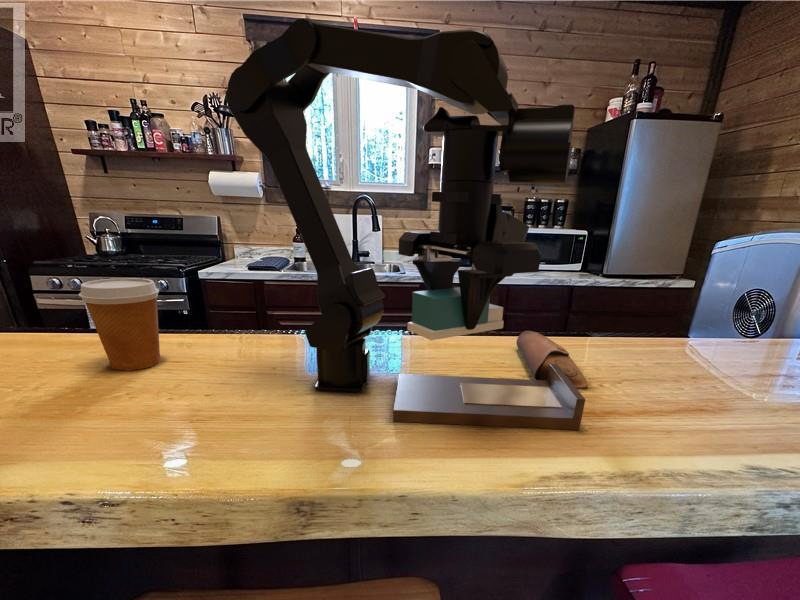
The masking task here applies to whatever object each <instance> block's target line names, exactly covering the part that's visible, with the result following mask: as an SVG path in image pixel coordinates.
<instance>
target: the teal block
mask: <svg viewBox="0 0 800 600" xmlns="http://www.w3.org/2000/svg"><path fill="white" fill-rule="evenodd" d="M411 297H412V302H411V304H412V305H411V321H409V322H407V326H406V327H407V331H408V332H411V333H413V334H415V335H418V336H419V337H422V338H424V339H426V340H429V341H436V340H442V339H449V338H453V337H460V336H466V335H473V334H477V333H478V334H479V333H483V332H489V331H496V330H500V329H503V328H504V323H505V322H504V320H503V315H504V306H500V305H496V304H493V303H490V300H491V296H490V297H489V299H488V301H487V303H486V305H485V308H484V310H483V312H482V314H481V316H480V318H479V321H478V323H477V325H476V327H475V329H472V330H467V329H466V326H465V322H464V316H463V309H462V301H461V293H460V286H459V287H452V288H447V289H437V290H427V289H426V290H416V291H412V296H411Z"/></svg>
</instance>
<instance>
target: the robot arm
mask: <svg viewBox="0 0 800 600" xmlns="http://www.w3.org/2000/svg"><path fill="white" fill-rule="evenodd" d="M330 74H335V75H339V76H345V77H351V78H355V79H361V80H366V81H371V82H378V83H382V84H387V85H393V86H397V87H404V88H408V89H413V90H418V91H420V92H423V93H425V94H427V95H429V96H431V97H434V98H435V99H437V100H439V101H441V102H443V103H446V104H447V105H450V106H452V107H455V108H457V109H460V110H461V111H464V112H466V113H469V114H471V115H451V114H450V112H449V111H448V110H447V109H445V108H444V107H443V106H440V107H438V109H437V111H436V113H435V114H434V115H433V116H432V117H431V118H430V119H429V120H428V121H427V122H425V124H423V128H422V129H423V131H424V132H425V133H427V134H428V135H430V136H433V137H435V138H442V151H441V167H440V168H441V169H440V170H441V171H440V185H439V186H440V187H439V191H431V203H432V202H433V203H439V204H438V205H439V207H438V222H437V223H438V224H437V231H436V230H435V231H434V230H433V231H432V230H431V231H404V233H402V235H401V236H400V237H399V239H398V255H399V256H400V255H401V256H405V257H411V258H412V257H414V256H415V255H417V259H412V265H413V266H415V267H416V268H417V269H416V270H417V271H418V274H419V275H420V277H421V279H422V282H423V284H424V286H425V288H426V290H437V289H447V288H453V285H454V277H455V275H456V273H457V276H458V277H457V278H458V285H459V287H460V293H461V301H462V309H463V316H464V322H465V326H466V329H467V330H472V329H475V327H476V325H477V323H478V321H479V318H480V316H481V314H482V312H483V310H484V308H485V305H486V303H487V301H488V299H489V297H490V298H491V296H492V293H493V291H494V290H495V288H496V287H497V285H498V284H500V283H501V282H502V281H503V280H504V279H506V278H507V277H513V275H514V274H527V273H529V274H531V273H539V270H540V264H541V258H542V257H541V256H542V255H541V250H540V249H539V247H538V245H537V243H536V242H527V241H526V238H527V235H528V233H529V229H530V226H529V225H528V224H526V223H525V222H523V221H521V220H520V219H519V218H517V217H515V216H513V215H511V213H507V212H505V211H503V209H502V205H503V198H502V193H494V185H495V174H496V166H497V165H496V164H497V153H498V144H499V137H501V141H500V147H499V161H498V162H499V172H500V173H502V174H503V173H505V174H506V173H508V181H509V183H510V184H520V185H521V184H526V185H527V184H529V185H566V184H567V181H568V176H569V170H570V165H571V159H572V151H573V146H572V145H573V144H572V138H573V130H574V129H573V128H574V120H575V113H576V108H575V107H576V106H575V105H574V104H570V103H568V104H559V105H555V106H550V107H523V108H522V107H521V108H519V104H518V101H517V99H516V98H515V97H514V95H513V94H512V93H509V92H508V90H507V87H508V79H509V74H508V68H507V65H506V63H505V61H504V59H503V57H502V55H501V52H500V51H499V49H498V47H497V46H496V43H495V42H494V40H493V38H492V37H491V36H490V35H489V34H487V33H486V32H484V31H482V30H479V29H476V28H473V29H472V28H469V29H457V30H455V29H454V30H443V31H438V32H436V33H433V34H430V35H428V36H424V37H409V36H402V35H396V34H388V33H383V32H376V31H371V30H364V29H357V28H352V27H346V26H340V25H334V24H327V23H321V22H316V21H314V20H313V19H311V18H308V17H306V18H297V19H296V20H294V21H293V22H292V23H290V25H289V26H288V27H287V29H286V30H285V31H284V32H283V33H282V34H281V35H280V36H279V37H276V38H274V39H273V40H271V41H269V42H268V43H265V44H264V45H262V46H260V47H258V48H256V49H255V50H253V51H252V52H251V53H250V54H249V56H248V57H247V58H246V59H245V61H244V62H243V63H242V64H241V65H240V66H238V67H236V68H235V69H234V70H233V71H232V72H231V74H230V76H229V80H228V82H227V87H226V88H227V89H226V90H225V91H224V93H225V100H226V104H227V108H228V109H229V111H230V114H231V115H232V116H233V118H234V120H235V122H236V123H237V125H238V126H239V128H240V130H241V131H242V133H243V134H244V136H246V138H247V139H248V140H249V141H250V142H251V144H253V145H254V146H255V147H256V149H257V150H258V151H259V152H260V153H261V154H262V155H263V157H265V159H266V160H267V161H268V164H269V165H270V168H271V170H272V173H273V175H274V177H275V179H276V182H277V184H278V186H279V188H280V191H281V193H282V196H283V197H284V200H285V202H286V205H287V207H288V209H289V211H290V214H291V216H292V218H293V221H294V223H295V225H296V228H297V230H298V232H299V235H300V237H301V238H302V242H303V243H304V246H305V249H306V250H307V253H308V255H309V258H310V260H311V262H312V265H313V267H314V269H315V272H316V300H317V303H318V307H319V311H320V314H321V315H320V316H318V317H317V318H316V320H315V321H314V322H313V323H312V324H311V325H309V326H308V327H307V329H306V330H305V332H304V334H305V336H306V339H307V342H308V345H309V348H314V349H316V368H317V369H316V370H317V381H316V383H315V385H314V390H315V391H328V392H329V391H330V392H331V391H333V392H353V393H362V392H363V391H364V388H365V385H366V384H368V382H369V379H370V377H371V374H370V373H371V372H370V371H371V370H370V369H371V368H370V366H371V358H370V357H371V355H370V353H371V351H370V350H369V349H367V348H366V347H367V345H366V344H367V343H366V342H367V341H366V337H369V336H370V335H371V333H372V329H373V327H374V326H375V325H377V324H378V323H379V322H380V321H381V319H382V316H383V315H384V312H385V305H384V301H383V298H385V297H386V294H385V293H384V292H383V291H382V290H381V287H380V286H379V283H378V279H377V275H376V272H375V270H374V268H372V267H369V268H366V269H361V268H360V267H359V265H357V263H356V262H355V261H354V260H353V258H352V256H351V253H350V251H349V249H348V245H347V244H346V241H345V239H344V236H343V235H342V231H341V230H340V227H339V225H338V222H337V220H336V218H335V215H334V213H333V210H332V208H331V205H330V203H329V201H328V198H327V196H326V192H325V191H324V189H323V186H322V184H321V181H320V178H319V176H318V174H317V172H316V171H317V170H316V168H315V166H314V164H313V161H312V160H311V157H310V155H309V151H308V148H307V133H308V131H307V130H308V129H307V127H308V124H307V120H306V116H305V114H304V112H305V111H306V110H307V109H308V108H309V107H310V106H311V105H312V104H313V102H314V101H315V100H316V98H317V96H318V93H319V91H320V89H321V87H322V84H323V82H324V80H326V78H327V77H328V76H329V75H330ZM289 77H290V79H288V78H289ZM286 79H288V81H286ZM484 114H487V115H488V116H489V117H491V118H492V119H493V120H495V122H497V123H498V124H497V125H495V124H494V125H493V124H492V125H489V124H481V122H480V119H479V116H478V115H484ZM454 258H457V259H454ZM458 259H463V260H458ZM464 260H467V261H471V262H472V263H471V268H470V269H460V268H461V266H462V264H463V263H464Z"/></svg>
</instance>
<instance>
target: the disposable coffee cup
mask: <svg viewBox="0 0 800 600" xmlns="http://www.w3.org/2000/svg"><path fill="white" fill-rule="evenodd" d="M159 293H160V289H159V288H158V287H157V285H156V283H155V281H154V280H152V279H148V278H141V277H139V278H138V277H118V278H117V277H115V278H114V277H113V278H105V279H104V278H103V279H95V280H89V281H86V282H83V283H81V284H80V292H79V293H78V296H79V298H81V300H82V301H83V302H84V303H85V305H86V308H87V310H88V313H89V315H90V318H91V321H92V322H93V326H94V328H95V330H96V333H97V335H98V338H99V339H100V343H101V345H102V347H103V350H104V352H105V354H106V357H107V359H108V362H109V364H110V367H111V368H112V369H114V370H118V371H133V370H134V371H135V370H141V369H146V368H150V367H153V366H155V365H157V364H159V363H160V361H161V351H160V333H159V332H160V330H159V329H160V328H159V311H158V309H159V308H158V297H159Z"/></svg>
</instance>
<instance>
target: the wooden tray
mask: <svg viewBox="0 0 800 600" xmlns="http://www.w3.org/2000/svg"><path fill="white" fill-rule="evenodd" d="M585 404H586V398H585V397H584V396H583V394H582V393H581V391H579V390H578V388H576V387H575V386H574V385H573V384H572V382H571V381H570V380H569V379H568V377H567V376H566V375H565V374H564V373H563V371H562V370H561V369H560V368H559V367H558V365H557V364H550V365H549V371H548V377H547V380H535V379H527V378H526V379H524V378H506V377H505V378H501V377H483V376H481V377H479V376H459V375H458V376H457V375H440V374H439V375H438V374H437V375H436V374H420V373H419V374H416V373H415V374H414V373H399V374H398V379H397V386H396V392H395V397H394V403H393V409H392V422H400V423H420V424H421V423H423V424H425V423H426V424H441V425H442V424H444V425H465V426H488V427H507V428H528V429H547V430H571V431H579V430H580V427H581V423H582V418H583V414H584V408H585Z"/></svg>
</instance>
